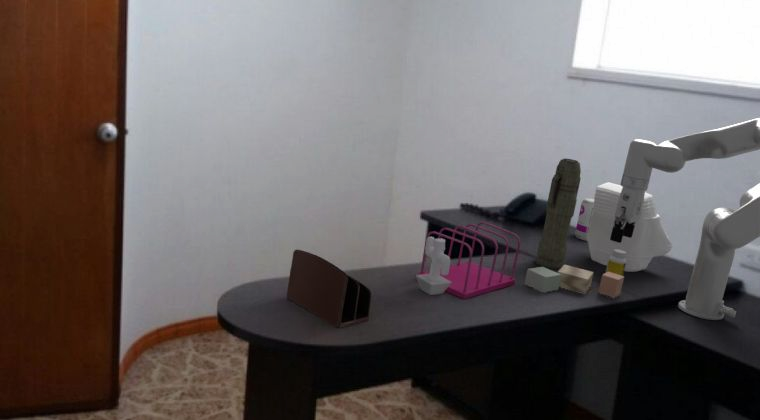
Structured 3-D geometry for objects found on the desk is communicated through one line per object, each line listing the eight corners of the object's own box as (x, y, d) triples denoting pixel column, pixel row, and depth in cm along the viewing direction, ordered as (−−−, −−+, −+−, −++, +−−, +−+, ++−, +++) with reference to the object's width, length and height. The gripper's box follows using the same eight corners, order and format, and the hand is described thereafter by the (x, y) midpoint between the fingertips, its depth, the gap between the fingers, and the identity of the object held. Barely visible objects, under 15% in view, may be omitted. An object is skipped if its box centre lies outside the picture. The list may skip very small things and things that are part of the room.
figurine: (432, 299, 201) (441, 245, 197) (410, 286, 208) (419, 234, 204) (452, 296, 205) (461, 244, 201) (431, 283, 212) (439, 233, 209)
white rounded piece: (597, 249, 274) (613, 180, 267) (667, 274, 255) (685, 201, 249) (565, 256, 259) (581, 183, 253) (637, 282, 241) (655, 205, 234)
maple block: (590, 287, 230) (593, 272, 229) (584, 295, 222) (588, 279, 221) (561, 279, 234) (564, 264, 233) (554, 287, 226) (557, 271, 225)
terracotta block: (619, 295, 227) (624, 276, 225) (614, 298, 223) (618, 279, 221) (603, 289, 229) (608, 271, 228) (598, 293, 225) (602, 274, 224)
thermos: (527, 261, 246) (548, 157, 237) (548, 257, 254) (569, 156, 245) (549, 270, 240) (571, 164, 231) (570, 266, 248) (592, 163, 239)
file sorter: (514, 285, 222) (524, 234, 218) (463, 300, 204) (473, 245, 200) (468, 266, 233) (477, 217, 229) (415, 278, 215) (424, 226, 211)
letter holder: (338, 329, 174) (346, 271, 170) (285, 298, 187) (291, 245, 183) (369, 321, 181) (377, 266, 177) (316, 292, 194) (322, 240, 190)
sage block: (557, 290, 223) (561, 274, 222) (542, 293, 219) (545, 277, 217) (539, 282, 228) (542, 266, 227) (524, 284, 224) (527, 268, 223)
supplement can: (573, 238, 284) (582, 200, 280) (574, 233, 292) (583, 196, 288) (595, 243, 282) (604, 204, 278) (596, 238, 289) (604, 200, 286)
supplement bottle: (622, 284, 237) (629, 255, 235) (604, 280, 238) (611, 251, 236) (620, 279, 242) (627, 250, 240) (603, 275, 243) (610, 247, 241)
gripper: (638, 189, 208) (623, 247, 213) (656, 183, 222) (642, 238, 227) (612, 182, 212) (598, 239, 217) (631, 177, 226) (618, 231, 231)
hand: (620, 238), depth 222 cm, fingers open, 9 cm apart
